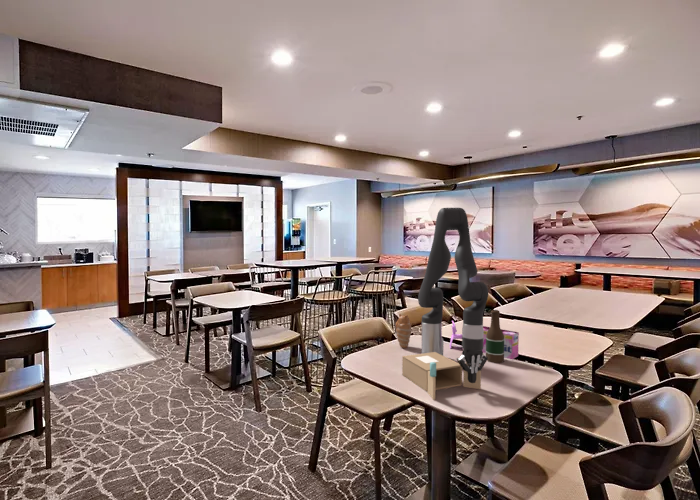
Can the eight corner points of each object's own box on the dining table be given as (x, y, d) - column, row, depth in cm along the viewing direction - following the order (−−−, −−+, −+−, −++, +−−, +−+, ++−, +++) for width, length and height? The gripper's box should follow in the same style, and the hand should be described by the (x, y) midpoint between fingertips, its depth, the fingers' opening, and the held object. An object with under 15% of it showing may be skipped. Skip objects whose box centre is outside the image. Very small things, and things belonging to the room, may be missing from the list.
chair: (468, 352, 185) (468, 322, 185) (449, 351, 187) (450, 322, 186) (465, 348, 193) (466, 319, 193) (448, 347, 195) (448, 318, 195)
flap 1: (425, 392, 136) (425, 359, 136) (431, 392, 136) (431, 358, 136) (431, 399, 130) (431, 364, 130) (437, 399, 130) (437, 364, 130)
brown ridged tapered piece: (392, 348, 193) (392, 314, 192) (402, 345, 198) (402, 312, 197) (405, 352, 186) (405, 316, 186) (415, 349, 191) (415, 314, 191)
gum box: (468, 351, 187) (468, 326, 187) (475, 348, 192) (475, 324, 192) (512, 362, 171) (512, 334, 171) (519, 358, 176) (519, 332, 176)
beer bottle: (485, 363, 168) (486, 311, 168) (486, 358, 176) (486, 308, 175) (504, 365, 166) (504, 312, 165) (503, 360, 173) (504, 309, 172)
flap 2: (463, 386, 142) (463, 366, 142) (463, 386, 142) (463, 365, 142) (480, 389, 139) (480, 368, 139) (480, 388, 140) (480, 367, 140)
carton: (434, 370, 160) (435, 351, 160) (461, 385, 143) (462, 364, 143) (402, 375, 154) (402, 355, 154) (426, 391, 137) (426, 369, 137)
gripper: (464, 339, 131) (463, 388, 132) (494, 336, 136) (493, 383, 136) (451, 334, 138) (450, 381, 139) (480, 332, 143) (479, 376, 143)
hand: (472, 382), depth 137 cm, fingers closed
